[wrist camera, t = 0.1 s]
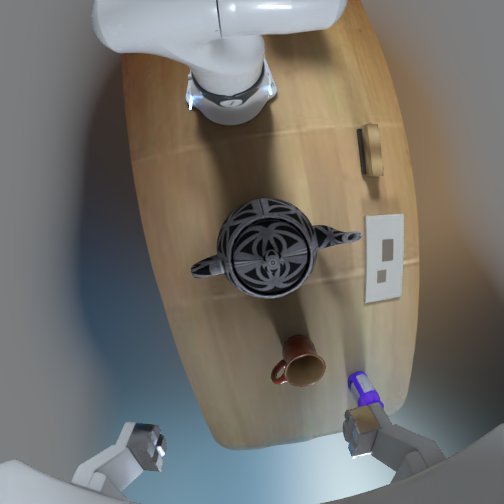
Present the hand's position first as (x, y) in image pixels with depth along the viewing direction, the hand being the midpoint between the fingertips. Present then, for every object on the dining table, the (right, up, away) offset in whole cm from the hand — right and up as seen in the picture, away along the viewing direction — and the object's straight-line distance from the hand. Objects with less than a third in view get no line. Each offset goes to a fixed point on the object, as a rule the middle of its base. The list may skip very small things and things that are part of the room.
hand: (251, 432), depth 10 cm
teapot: (+4, +10, +47) cm, 48 cm away
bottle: (+29, -27, +56) cm, 69 cm away
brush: (+25, +29, +43) cm, 58 cm away
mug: (+9, -15, +53) cm, 56 cm away
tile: (+30, +6, +49) cm, 58 cm away
